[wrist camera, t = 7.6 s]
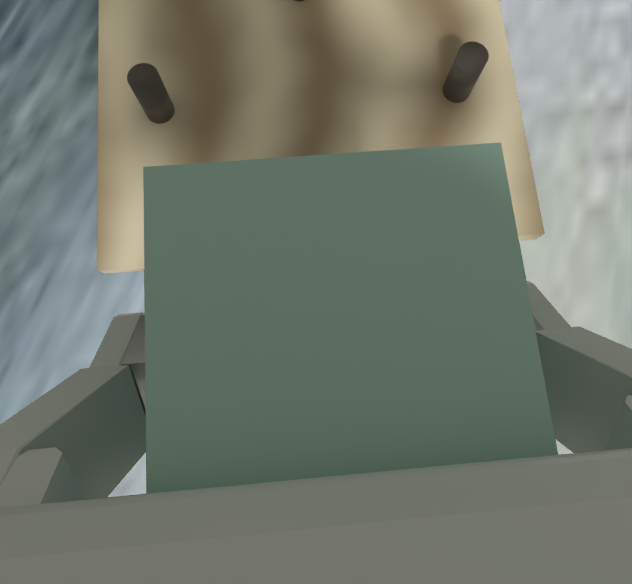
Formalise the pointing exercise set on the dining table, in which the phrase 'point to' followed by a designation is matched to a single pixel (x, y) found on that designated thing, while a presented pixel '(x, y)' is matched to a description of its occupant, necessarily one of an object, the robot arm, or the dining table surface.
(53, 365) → the dining table surface
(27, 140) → the dining table surface
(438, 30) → the locating board
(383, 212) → the flange block
